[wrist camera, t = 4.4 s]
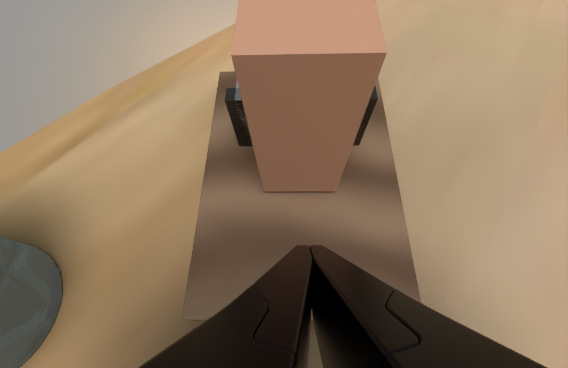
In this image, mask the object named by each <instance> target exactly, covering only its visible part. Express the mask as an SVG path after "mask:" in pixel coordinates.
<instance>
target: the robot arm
mask: <svg viewBox="0 0 568 368" xmlns="http://www.w3.org/2000/svg"><path fill="white" fill-rule="evenodd" d="M311 309H312V316H313V322H314V326H315V331H316V336H317V340H318V345H319V350H320V354H321V359H322V363H323V368H547V367H545V366H543V365H541V364H539V363H537V362H535V361H533V360H531V359H529V358H527V357H525V356H523V355H521V354H519V353H517V352H515V351H513V350H511V349H509V348H507V347H505V346H504V345H502V344H500V343H498V342H496V341H494V340H492V339H490V338H488V337H486V336H484V335H482V334H480V333H478V332H476V331H474V330H472V329H470V328H468V327H466V326H464V325H462V324H460V323H458V322H456V321H454V320H452V319H450V318H448V317H446V316H444V315H442V314H440V313H438V312H437V311H435V310H433V309H431V308H429V307H427V306H425V305H423V304H422V303H420V302H418V301H416V300H415V299H413V298H411V297H409V296H408V295H406V294H404V293H403V292H401V291H399V290H398V289H394V288H393V287H392V286H390V285H388V284H387V283H385V282H383V281H381V280H380V279H378V278H376V277H375V276H373V275H371V274H370V273H368V272H366V271H365V270H363V269H361V268H360V267H358V266H356V265H355V264H353V263H351V262H350V261H348V260H346V259H345V258H343V257H341V256H340V255H338V254H336V253H335V252H333V251H331V250H330V249H328V248H326V247H324V246H323V245H311V246H310V247H309V246H308V245H296V246H295V247H294V248H293V249H292V250H291V251H289V252H288V253H287V254H286V255H285V256H284V257H283V258H282V259H280V260H279V261H278V262H277V263H276V264H275V265H274V266H273V267H271V268H270V269H269V270H268V271H267V272H266V273H265V274H264V275H262V276H261V277H260V278H259V279H258V280H257V281H256V282H255V283H254V284H252V285H251V286H250V287H249V288H247V289H246V290H245V291H244V292H243V293H242V294H240V295H239V296H238V297H237V298H236V299H234V300H233V301H232V302H231V303H230V304H228V305H227V306H226V307H224V308H223V309H222V310H220V311H219V312H217V313H216V314H215V315H213V316H212V317H211V318H209V319H208V320H206V321H205V322H203V323H202V324H201V325H199V326H198V327H196V328H195V329H193V330H192V331H190V332H189V333H188V334H186V335H185V336H183V337H182V338H180V339H179V340H178V341H176V342H175V343H173V344H172V345H170V346H169V347H167V348H166V349H165V350H163V351H162V352H160V353H159V354H157V355H156V356H154V357H153V358H152V359H150V360H149V361H147V362H146V363H144V364H143V365H142V366H140V367H139V368H307V366H308V353H309V340H310V327H311Z"/></svg>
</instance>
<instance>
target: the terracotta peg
mask: <svg viewBox="0 0 568 368" xmlns="http://www.w3.org/2000/svg"><path fill="white" fill-rule="evenodd" d="M386 53H387V51H386V47H385V42H384V38H383V33H382V29H381V24H380V20H379V15H378V11H377V6H376V2H375V0H239V3H238V10H237V17H236V25H235V32H234V40H233V47H232V54H231V56H232V60H233V64H234V68H235V73H236V77H237V81H238V85H239V89H240V94H241V98H242V102H243V106H244V111H245V115H246V119H247V123H248V127H249V132H250V136H251V140H252V144H253V149H254V153H255V157H256V161H257V165H258V170H259V174H260V178H261V182H262V187H263V191H264V192H282V191H336V190H337V187H338V185H339V182H340V179H341V176H342V174H343V171H344V168H345V166H346V163H347V160H348V157H349V155H350V152H351V149H352V146H353V144H354V141H355V138H356V135H357V133H358V130H359V127H360V124H361V122H362V119H363V116H364V114H365V111H366V108H367V105H368V103H369V100H370V97H371V94H372V92H373V89H374V86H375V83H376V81H377V78H378V75H379V72H380V70H381V67H382V64H383V62H384V59H385V56H386Z"/></svg>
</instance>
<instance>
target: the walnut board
mask: <svg viewBox="0 0 568 368" xmlns="http://www.w3.org/2000/svg"><path fill="white" fill-rule="evenodd" d="M236 83H237V77H236V73H235V72H220V75H219V82H218V88H217V95H216V101H215V108H214V114H213V121H212V127H211V134H210V140H209V147H208V153H207V160H206V166H205V173H204V179H203V186H202V192H201V199H200V205H199V212H198V218H197V225H196V231H195V238H194V244H193V251H192V257H191V264H190V270H189V277H188V283H187V290H186V296H185V303H184V309H183V316H182V320H208V319H209V318H211V317H212V316H213V315H215V314H216V313H217V312H219V311H220V310H222V309H223V308H224V307H226V306H227V305H228V304H230V303H231V302H232V301H233V300H234V299H236V298H237V297H238V296H239V295H240V294H242V293H243V292H244V291H245V290H246V289H247V288H249V287H250V286H251V285H252V284H254V283H255V282H256V281H257V280H258V279H259V278H260V277H261V276H262V275H264V274H265V273H266V272H267V271H268V270H269V269H270V268H271V267H273V266H274V265H275V264H276V263H277V262H278V261H279V260H280V259H282V258H283V257H284V256H285V255H286V254H287V253H288V252H289V251H291V250H292V249H293V248H294V247H295V246H296V245H308V246H309V247H310V246H311V245H323V246H324V247H326V248H328V249H330V250H331V251H333V252H335V253H336V254H338V255H340V256H341V257H343V258H345V259H346V260H348V261H350V262H351V263H353V264H355V265H356V266H358V267H360V268H361V269H363V270H365V271H366V272H368V273H370V274H371V275H373V276H375V277H376V278H378V279H380V280H381V281H383V282H385V283H387V284H388V285H390V286H392V287H393V288H394V289H398V290H399V291H401V292H403V293H404V294H406V295H408V296H409V297H411V298H413V299H415V300H416V301H418V302H420V303H421V301H420V296H419V291H418V285H417V280H416V275H415V270H414V264H413V259H412V254H411V249H410V243H409V238H408V233H407V228H406V222H405V217H404V212H403V207H402V201H401V196H400V191H399V186H398V180H397V175H396V170H395V165H394V159H393V154H392V149H391V144H390V138H389V133H388V128H387V123H386V117H385V112H384V107H383V102H382V96H381V91H380V86H379V81H378V78H377V81H376V83H375V86H376V91H377V96H378V100H377V102H376V105H375V107H374V110H373V112H372V115H371V117H370V120H369V122H368V125H367V127H366V130H365V132H364V135H363V137H362V139H361V142H360V144H359V146H352V149H351V152H350V155H349V157H348V160H347V163H346V166H345V168H344V171H343V174H342V176H341V179H340V182H339V185H338V187H337V190H336V191H282V192H264V191H263V187H262V182H261V178H260V174H259V170H258V165H257V161H256V157H255V153H254V149H253V146H239V144H238V141H237V138H236V135H235V131H234V128H233V125H232V122H231V119H230V116H229V113H228V110H227V106H226V103H225V94H226V88H236ZM311 321H313V316H312V309H311Z"/></svg>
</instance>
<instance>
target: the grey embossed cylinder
mask: <svg viewBox="0 0 568 368" xmlns="http://www.w3.org/2000/svg"><path fill="white" fill-rule="evenodd" d="M60 272H61V270H60V269H59V267H57V266H56V265H55V261H54V260H52V258H51V257H50V256H49V255H47V254H46V253H45V252H43V251H42V250H41V249H39V248H36V247H34V246H31V245H28V244H25V243H22V242H17V241H12V240H11V239H8V238H4V237H1V236H0V368H19V367H20V366H21V365H22V364H24V363H25V362H26V361H27V360H28V359H29V358H30V357H31V356H32V355H33V354H34V353H35V351H36V350H37V349H38V348H39V347H40V345H41V344H42V342H43V341H44V339H45V338H46V336H47V335H48V333H49V332H50V330H51V328H52V326H53V324H54V322H55V319H56V317H57V314H58V311H59V308H60V304H61V300H62V296H63V290H62V277H61V275H60Z"/></svg>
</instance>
